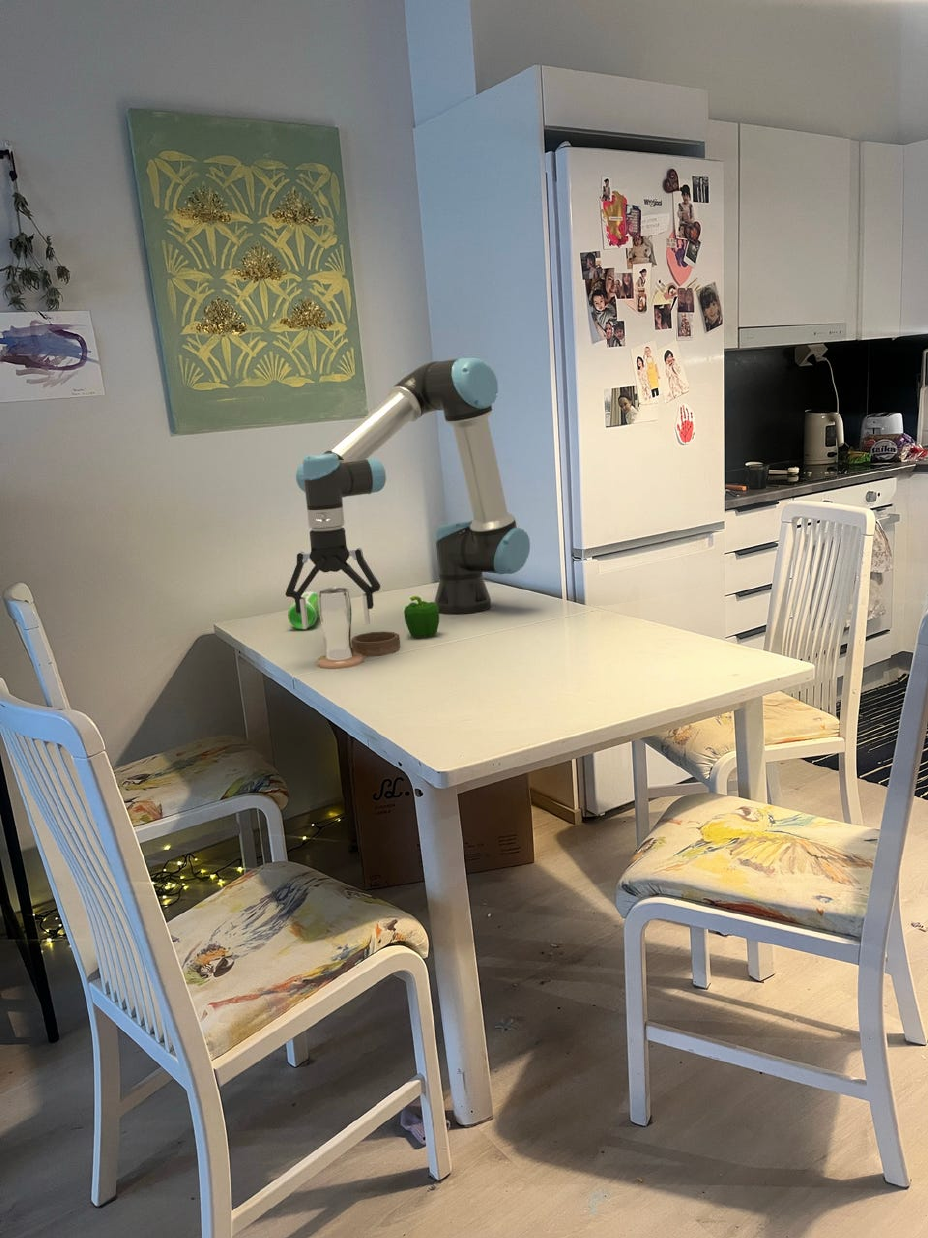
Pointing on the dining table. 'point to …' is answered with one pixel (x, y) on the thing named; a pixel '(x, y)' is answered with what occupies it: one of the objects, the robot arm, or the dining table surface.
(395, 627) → the dining table surface
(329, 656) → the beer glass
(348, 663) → the pinkish-brown smooth disc
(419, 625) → the bell pepper
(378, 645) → the walnut collar
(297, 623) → the speaker
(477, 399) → the robot arm
